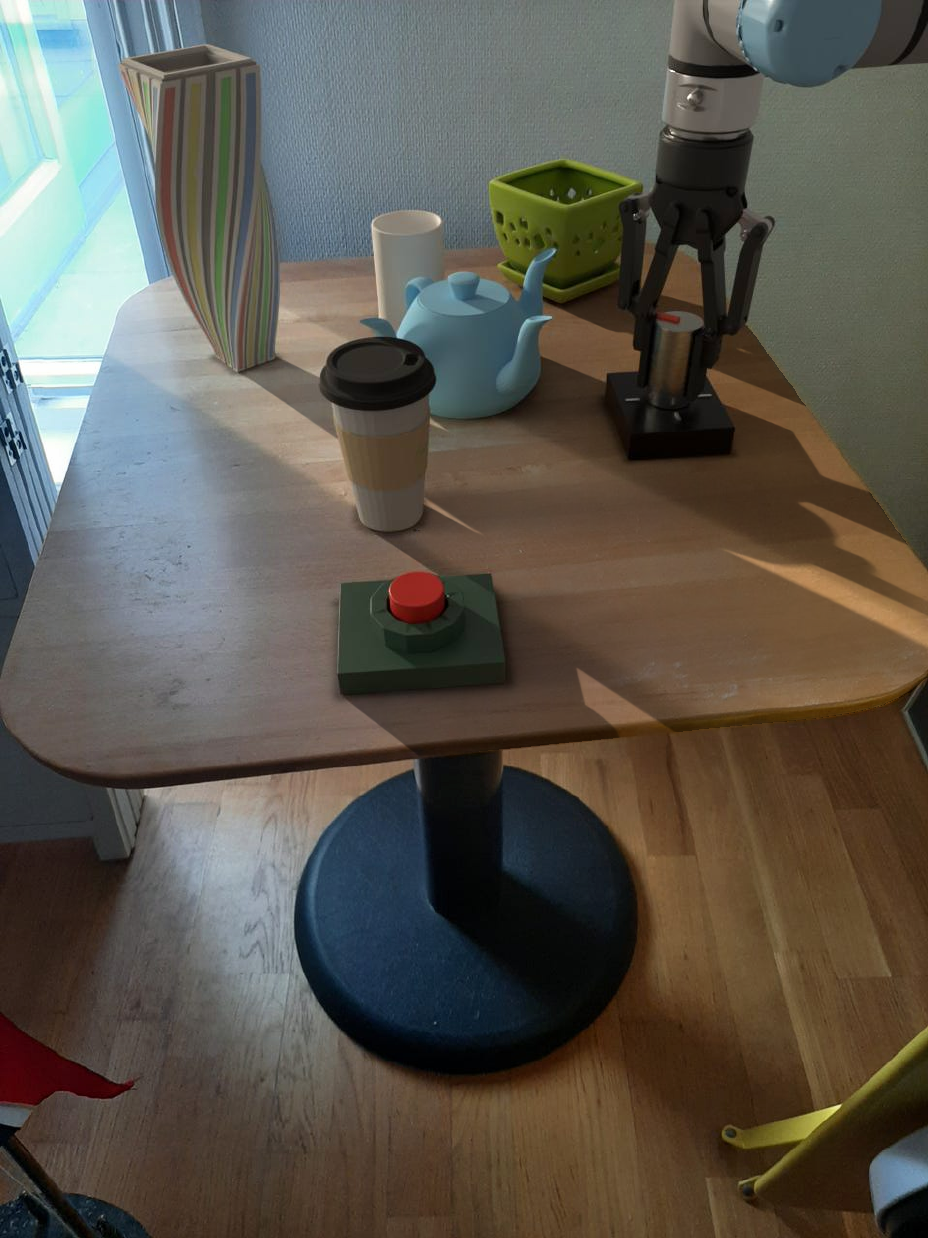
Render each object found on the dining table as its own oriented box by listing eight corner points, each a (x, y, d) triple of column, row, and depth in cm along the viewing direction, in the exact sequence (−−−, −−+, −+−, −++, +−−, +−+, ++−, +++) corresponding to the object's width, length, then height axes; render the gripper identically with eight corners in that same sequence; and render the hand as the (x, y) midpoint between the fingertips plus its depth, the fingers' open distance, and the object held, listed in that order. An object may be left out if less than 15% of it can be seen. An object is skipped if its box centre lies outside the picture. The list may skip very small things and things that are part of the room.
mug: (359, 307, 115) (348, 207, 107) (421, 293, 118) (416, 195, 110) (393, 345, 107) (385, 241, 99) (460, 330, 110) (457, 227, 102)
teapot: (553, 432, 93) (559, 315, 84) (369, 430, 94) (357, 315, 85) (550, 352, 105) (555, 244, 97) (388, 352, 106) (379, 244, 98)
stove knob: (698, 394, 92) (711, 314, 86) (680, 413, 89) (693, 332, 83) (657, 383, 93) (667, 304, 88) (638, 402, 91) (648, 321, 85)
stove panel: (730, 454, 89) (736, 425, 87) (628, 460, 89) (631, 432, 86) (697, 393, 98) (702, 365, 96) (604, 398, 97) (606, 371, 95)
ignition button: (446, 622, 67) (445, 604, 66) (391, 626, 67) (389, 608, 66) (442, 587, 70) (442, 569, 69) (390, 590, 70) (388, 572, 68)
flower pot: (560, 316, 112) (566, 208, 104) (484, 282, 120) (483, 179, 111) (637, 283, 119) (648, 179, 110) (560, 253, 127) (565, 154, 118)
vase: (221, 399, 99) (150, 84, 79) (165, 355, 107) (88, 58, 86) (327, 359, 105) (287, 58, 85) (267, 321, 113) (217, 36, 93)
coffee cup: (457, 529, 81) (452, 372, 71) (354, 555, 79) (334, 397, 68) (421, 474, 88) (412, 323, 77) (325, 496, 85) (302, 344, 75)
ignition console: (505, 683, 67) (505, 643, 65) (340, 695, 67) (334, 655, 64) (491, 593, 75) (491, 554, 72) (343, 603, 74) (337, 565, 71)
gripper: (589, 124, 76) (572, 382, 92) (800, 155, 69) (742, 429, 84) (628, 102, 80) (606, 352, 96) (829, 129, 73) (770, 394, 89)
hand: (670, 387), depth 90 cm, fingers closed on stove knob, 4 cm apart
